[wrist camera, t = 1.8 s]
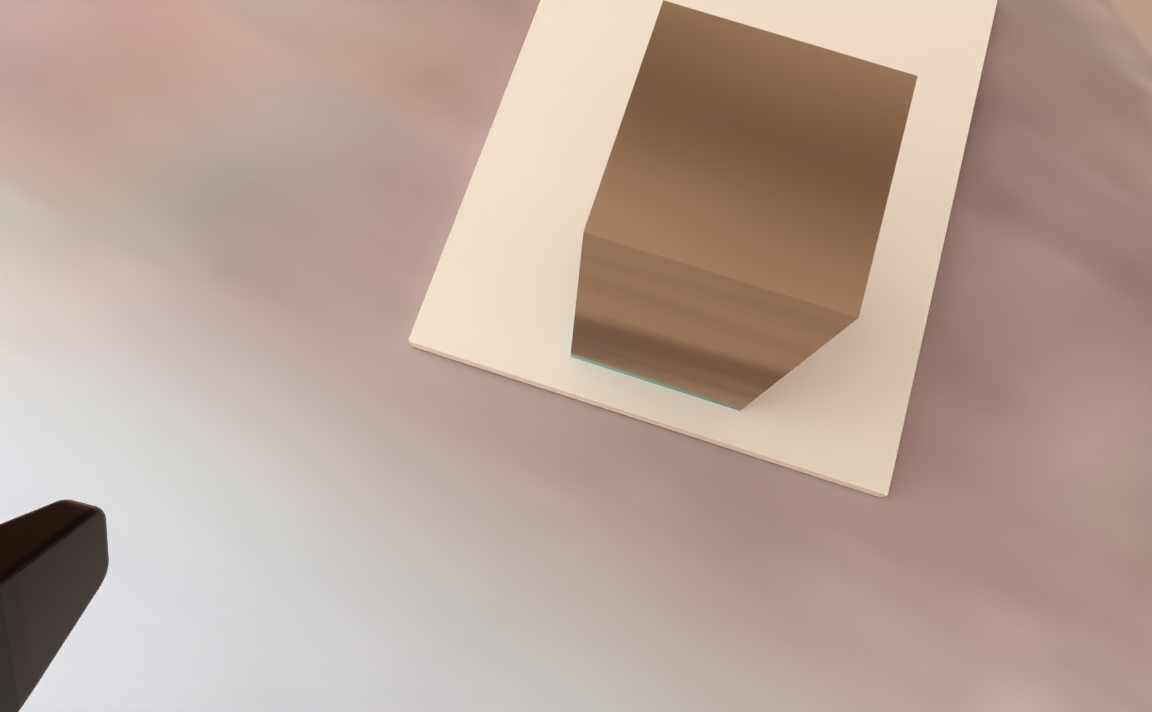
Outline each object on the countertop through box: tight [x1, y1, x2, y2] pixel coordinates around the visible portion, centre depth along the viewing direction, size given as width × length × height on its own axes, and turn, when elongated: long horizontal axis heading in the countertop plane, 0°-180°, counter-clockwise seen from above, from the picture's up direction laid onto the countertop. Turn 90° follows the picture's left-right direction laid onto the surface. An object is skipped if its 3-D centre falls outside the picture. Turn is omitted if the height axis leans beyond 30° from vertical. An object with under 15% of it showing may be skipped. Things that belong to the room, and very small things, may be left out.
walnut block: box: [570, 0, 918, 411], centre depth 19 cm, size 5×5×9 cm
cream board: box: [408, 0, 997, 497], centre depth 25 cm, size 17×14×1 cm
